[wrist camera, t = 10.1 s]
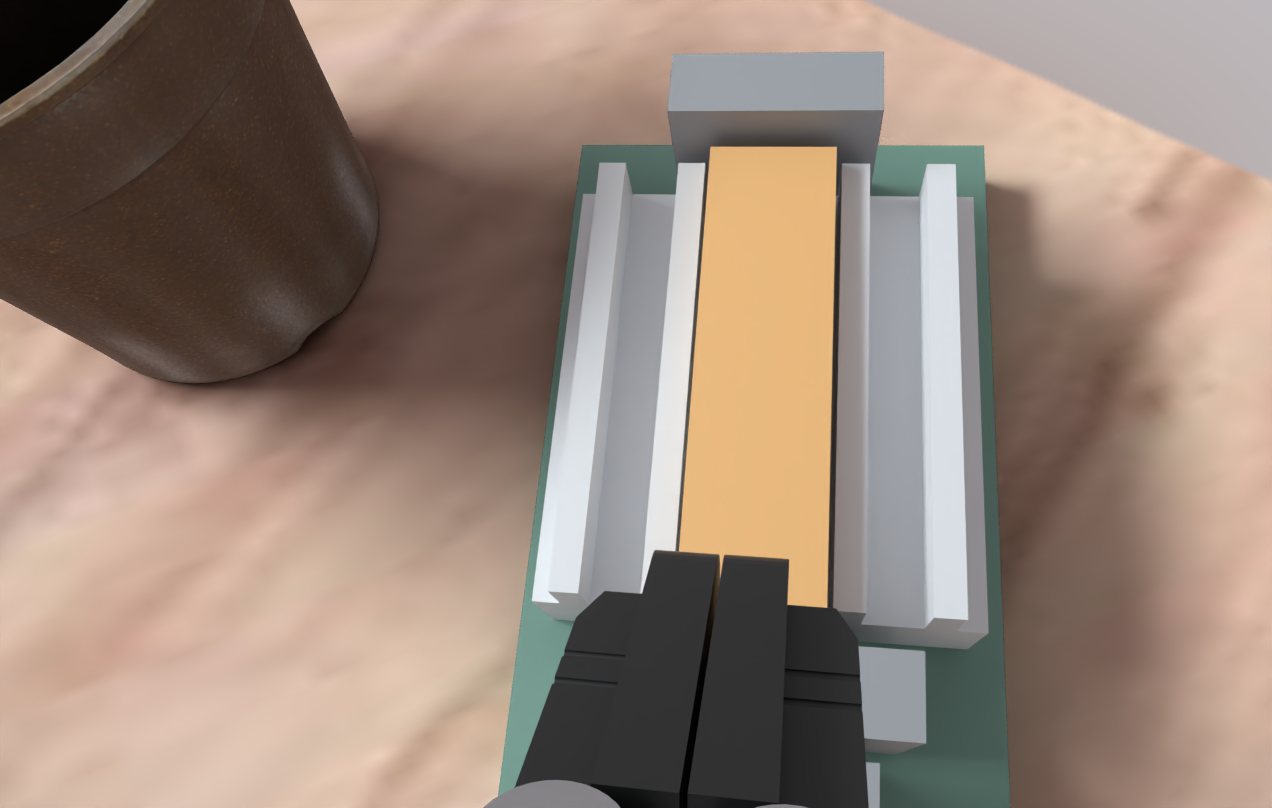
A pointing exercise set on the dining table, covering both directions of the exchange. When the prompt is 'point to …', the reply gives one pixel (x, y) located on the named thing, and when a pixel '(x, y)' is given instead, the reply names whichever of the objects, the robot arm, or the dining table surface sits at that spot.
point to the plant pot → (176, 182)
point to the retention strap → (764, 364)
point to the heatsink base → (860, 410)
